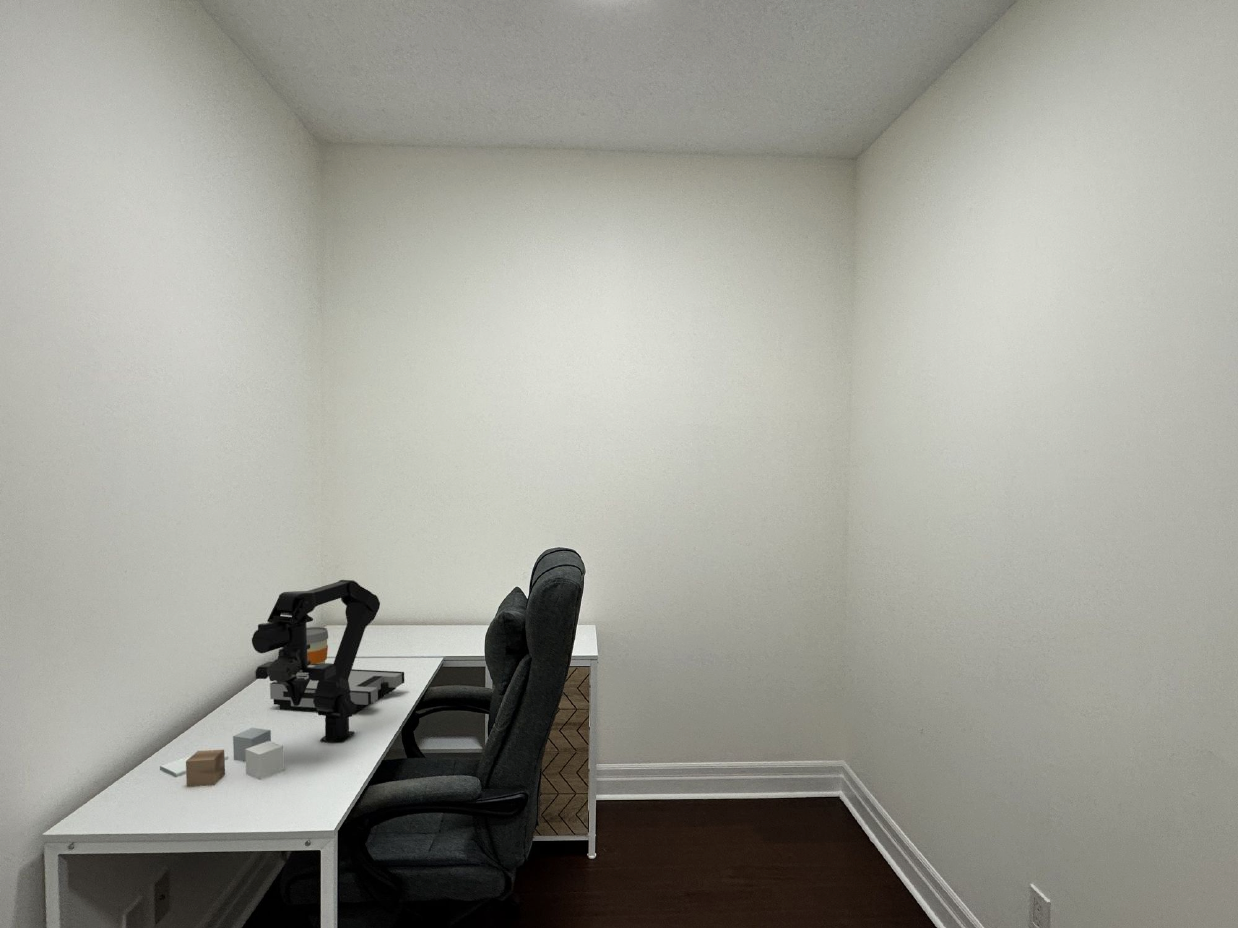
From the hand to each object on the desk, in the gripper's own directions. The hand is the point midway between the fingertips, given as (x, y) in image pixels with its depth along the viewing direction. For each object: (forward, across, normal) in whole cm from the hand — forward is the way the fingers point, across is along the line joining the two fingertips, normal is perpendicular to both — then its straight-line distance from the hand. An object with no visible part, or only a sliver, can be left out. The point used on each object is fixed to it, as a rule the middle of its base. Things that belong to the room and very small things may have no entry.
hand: (296, 705), depth 191 cm
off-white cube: (+13, -3, -9) cm, 16 cm away
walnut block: (+13, -14, -15) cm, 24 cm away
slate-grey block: (+13, -12, -1) cm, 18 cm away
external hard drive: (+14, -24, -7) cm, 28 cm away
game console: (+14, -12, +40) cm, 44 cm away
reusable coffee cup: (+13, -37, +64) cm, 75 cm away
